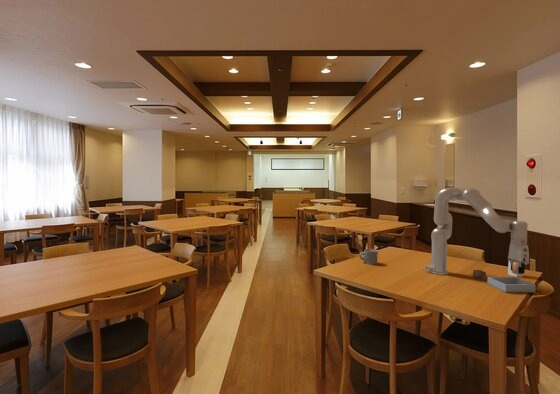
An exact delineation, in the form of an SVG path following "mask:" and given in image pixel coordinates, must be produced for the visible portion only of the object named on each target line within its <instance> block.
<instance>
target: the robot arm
mask: <svg viewBox="0 0 560 394" xmlns="http://www.w3.org/2000/svg"><path fill="white" fill-rule="evenodd" d="M434 199H435V200H434V210H433V213H434V214H433V222H434V224H435V225H437V227H436V228H434V229H433V230H432V232H431V235H430V237H431V262H430V264H429V265H428V266H427V265H424V266H423V269H424V270H428V272H429V273H432V274H434V275H441V276H442V275H443V276H445V275H449V274H450V271H449V270H447V260H448V241H447V240H449V239H450V238H451V236H452V234H453V232H452V231H453V216H452V214H451V213H450V212H449V202H450V201H465V202H466V203H467V204H468V205H470V206H471V207H472V208H473V209H474V210H475V211H476V212H477V213H478V214H479V215H480V217H481V218H482V219H483V220H484V221H485V222H486V223H487V224H488V225H489V226H490V227H491V228H492V229H494V231H495V232H497V233H500V234H505V233H507V232H510V243H509V249H508V255H507V259H508V262H509V261H510V264H511V271H512V266H513V261H519V266H520V267H519V269H518V273H519V274H523V275H524V274H525V270H526V269H525V268H526V267H527V266H528V265H529V264H530V250H529V246H528V245H527V244H528V225H529V224H528V222H526V221H523V220H511V219H503V218H502V217H501V216H500V215H499V214H498V213H497V212H496V211H495V209H494V207H493V205H492V204H491V202H489V201H488V200H487V199H486V198H484V197H483V196H482V195H481V193H480V191H479V190H478V189H476V188H465V187H464V188H463V187H446V188H443V189H441V190H440V191H438V192H437V193H436V195H435V197H434ZM522 263H523V264H522Z"/></svg>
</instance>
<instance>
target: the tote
mask: <svg viewBox="0 0 560 394" xmlns="http://www.w3.org/2000/svg"><path fill="white" fill-rule="evenodd" d="M486 280H487V283H486V284H487V285H489V286H490V287H493V288H494V289H497V290H499V291H502V292H503V293H515V294H516V293H517V294H518V293H519V292H528V294H529V293H530V294H532V293H533V294H535V293H536V289H537V288H536V287H537V285H536V284H534V283H531V282H529V281H526V280H523V279H522V278H519V277H515V276H487V279H486Z"/></svg>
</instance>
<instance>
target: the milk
mask: <svg viewBox="0 0 560 394" xmlns="http://www.w3.org/2000/svg"><path fill="white" fill-rule="evenodd" d="M507 267H508V268H507V275H509V276H511V277H517V278H519V277H524V274H522V275H520V274H514V273H512V271H511V264H510V261H509V260H508V266H507Z"/></svg>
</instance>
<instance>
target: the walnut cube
mask: <svg viewBox="0 0 560 394" xmlns="http://www.w3.org/2000/svg"><path fill="white" fill-rule="evenodd" d="M472 271H473V273H472V278H473V277H474V279H476V280H477V281H486V280H487V279H486V278H487V272H486V271H483V270H482V269H472Z"/></svg>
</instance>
